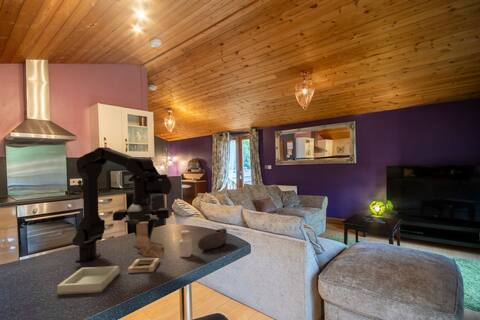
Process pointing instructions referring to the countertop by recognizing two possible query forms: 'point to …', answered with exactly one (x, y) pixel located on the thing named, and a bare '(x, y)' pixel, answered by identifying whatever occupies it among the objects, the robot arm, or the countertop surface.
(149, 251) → the wooden fragment
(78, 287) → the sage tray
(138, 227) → the wooden block
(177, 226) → the countertop surface
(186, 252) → the pepper shaker
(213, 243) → the perforated stone tool
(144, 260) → the birch stand
